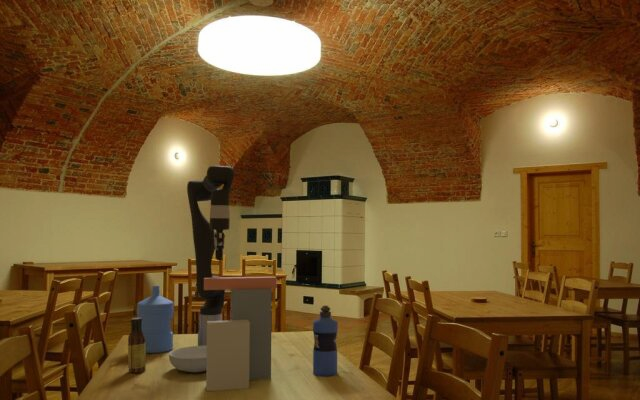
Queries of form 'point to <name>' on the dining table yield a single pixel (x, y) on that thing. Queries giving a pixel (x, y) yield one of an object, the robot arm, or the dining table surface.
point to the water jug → (156, 322)
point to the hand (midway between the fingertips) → (218, 259)
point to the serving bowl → (189, 358)
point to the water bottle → (325, 344)
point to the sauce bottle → (136, 347)
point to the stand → (240, 342)
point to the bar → (239, 283)
